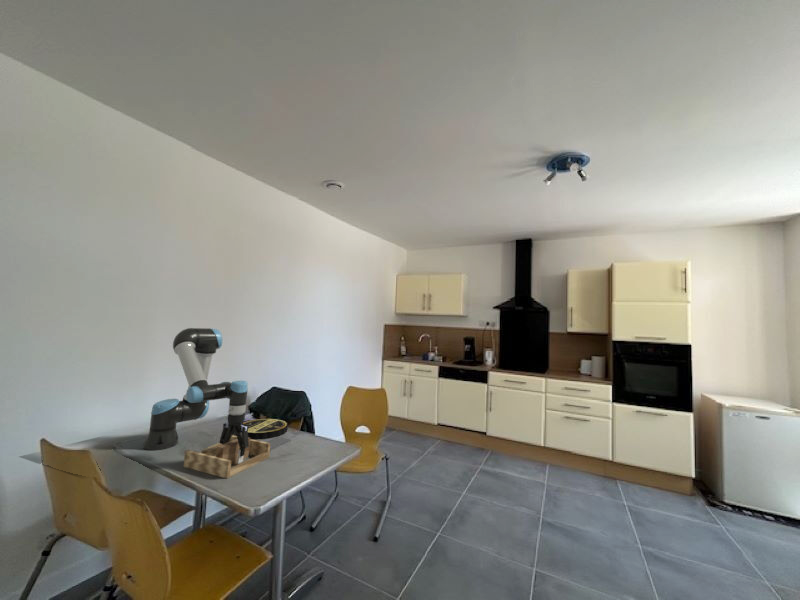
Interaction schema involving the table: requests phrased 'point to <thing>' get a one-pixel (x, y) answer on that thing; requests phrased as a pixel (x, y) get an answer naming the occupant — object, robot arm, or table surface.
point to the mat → (277, 442)
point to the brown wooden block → (231, 451)
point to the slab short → (211, 450)
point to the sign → (266, 428)
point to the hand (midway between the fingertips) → (232, 460)
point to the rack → (223, 465)
